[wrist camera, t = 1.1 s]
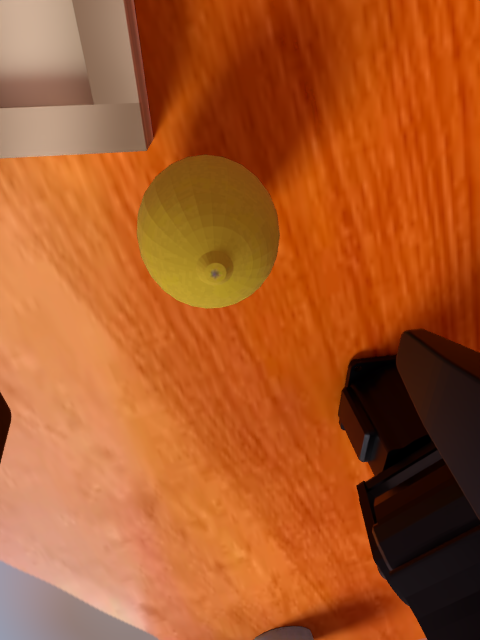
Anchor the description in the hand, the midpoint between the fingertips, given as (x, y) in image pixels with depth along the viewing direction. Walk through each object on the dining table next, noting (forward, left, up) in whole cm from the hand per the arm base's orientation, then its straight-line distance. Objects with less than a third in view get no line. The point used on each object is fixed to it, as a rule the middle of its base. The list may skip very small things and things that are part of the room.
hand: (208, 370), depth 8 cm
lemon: (0, 0, -12) cm, 12 cm away
